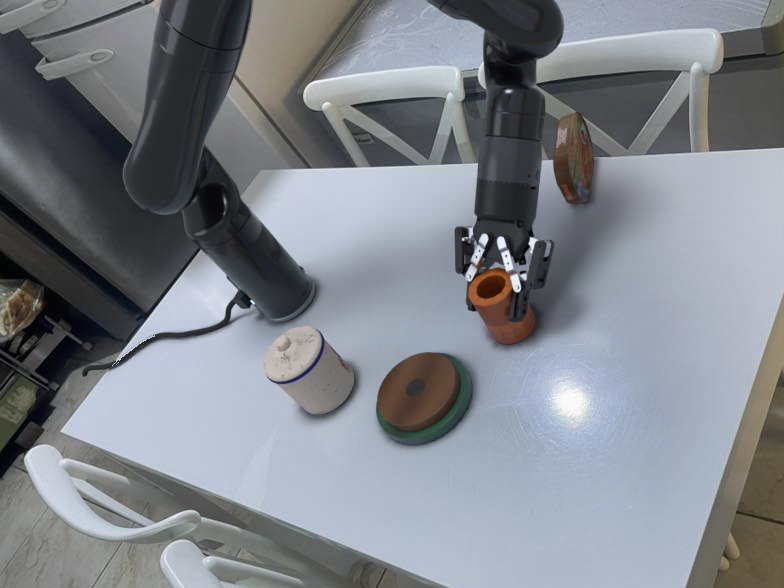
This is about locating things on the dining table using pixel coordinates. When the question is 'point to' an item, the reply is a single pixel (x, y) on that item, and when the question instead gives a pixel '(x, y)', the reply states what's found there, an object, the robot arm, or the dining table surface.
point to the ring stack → (423, 397)
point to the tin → (573, 158)
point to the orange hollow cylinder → (499, 306)
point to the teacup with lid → (309, 370)
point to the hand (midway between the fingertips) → (495, 315)
